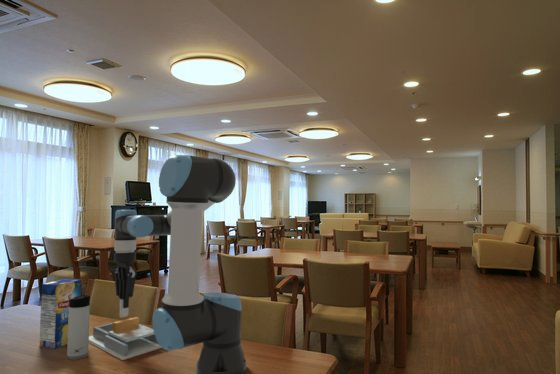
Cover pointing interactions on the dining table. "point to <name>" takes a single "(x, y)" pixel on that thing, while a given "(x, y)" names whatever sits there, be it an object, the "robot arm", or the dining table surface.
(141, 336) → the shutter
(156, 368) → the dining table surface
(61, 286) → the blue food box
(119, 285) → the robot arm
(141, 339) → the dock
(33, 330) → the dining table surface
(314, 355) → the dining table surface
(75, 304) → the travel mug
